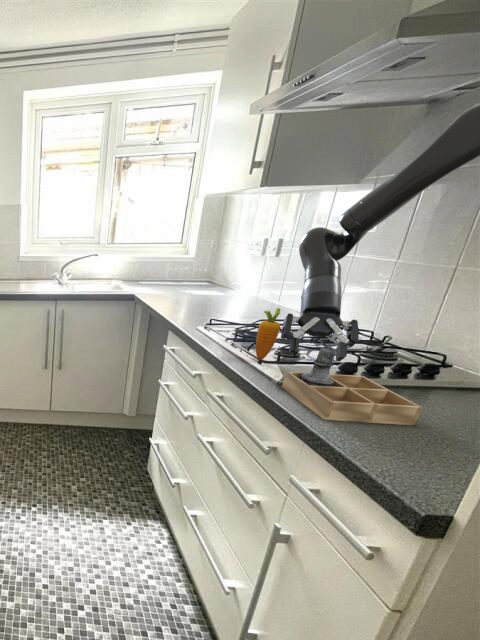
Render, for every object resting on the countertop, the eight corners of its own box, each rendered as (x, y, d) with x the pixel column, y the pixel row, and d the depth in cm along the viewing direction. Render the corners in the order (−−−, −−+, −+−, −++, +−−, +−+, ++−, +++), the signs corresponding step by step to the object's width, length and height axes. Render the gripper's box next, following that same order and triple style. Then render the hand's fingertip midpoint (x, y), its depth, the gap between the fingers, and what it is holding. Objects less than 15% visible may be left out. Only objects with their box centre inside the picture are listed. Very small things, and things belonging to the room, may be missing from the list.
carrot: (253, 363, 116) (269, 310, 110) (246, 357, 120) (260, 305, 114) (273, 364, 115) (290, 311, 109) (264, 358, 120) (280, 306, 114)
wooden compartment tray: (356, 391, 99) (363, 375, 97) (413, 425, 84) (423, 407, 82) (281, 387, 101) (286, 371, 99) (324, 419, 86) (331, 402, 84)
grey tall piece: (303, 396, 94) (322, 346, 89) (292, 386, 99) (308, 338, 95) (333, 399, 93) (354, 348, 88) (320, 388, 98) (338, 340, 93)
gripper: (291, 287, 102) (286, 345, 97) (365, 292, 96) (364, 354, 91) (280, 304, 108) (275, 359, 104) (349, 310, 103) (347, 368, 98)
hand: (317, 356), depth 98 cm, fingers open, 8 cm apart
